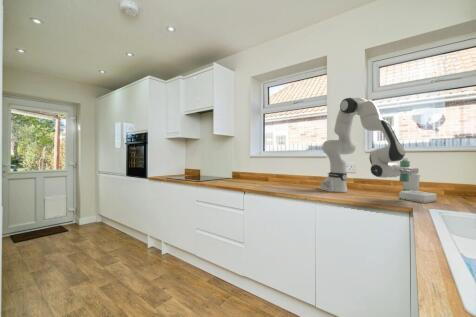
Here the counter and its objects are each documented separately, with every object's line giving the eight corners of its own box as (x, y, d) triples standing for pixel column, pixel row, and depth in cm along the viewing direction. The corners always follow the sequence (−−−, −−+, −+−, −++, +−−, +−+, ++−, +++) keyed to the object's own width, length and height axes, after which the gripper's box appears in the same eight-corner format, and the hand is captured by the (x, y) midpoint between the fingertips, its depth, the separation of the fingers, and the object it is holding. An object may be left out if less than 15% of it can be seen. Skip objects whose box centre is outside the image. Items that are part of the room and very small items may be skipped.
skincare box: (402, 194, 162) (402, 173, 162) (404, 193, 167) (405, 172, 166) (416, 196, 156) (417, 174, 155) (419, 195, 160) (419, 173, 160)
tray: (399, 198, 149) (399, 191, 149) (411, 196, 155) (411, 190, 155) (424, 202, 136) (424, 195, 136) (436, 201, 142) (436, 193, 142)
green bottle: (397, 180, 148) (398, 157, 148) (402, 180, 150) (403, 158, 150) (406, 181, 143) (407, 158, 143) (410, 181, 146) (411, 158, 145)
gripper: (411, 166, 132) (424, 165, 137) (376, 164, 150) (389, 163, 156) (410, 176, 132) (424, 176, 138) (376, 173, 150) (389, 173, 156)
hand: (405, 169), depth 147 cm, fingers closed on green bottle, 5 cm apart
